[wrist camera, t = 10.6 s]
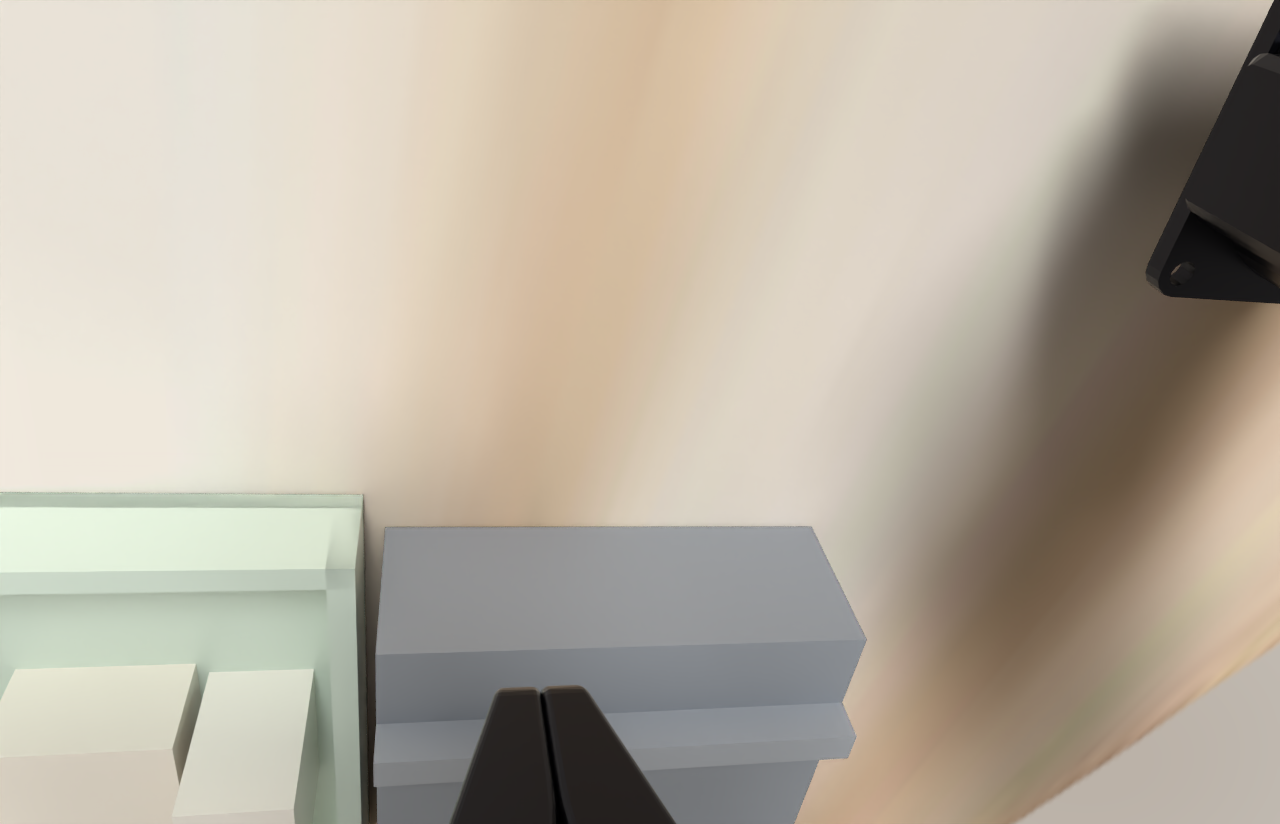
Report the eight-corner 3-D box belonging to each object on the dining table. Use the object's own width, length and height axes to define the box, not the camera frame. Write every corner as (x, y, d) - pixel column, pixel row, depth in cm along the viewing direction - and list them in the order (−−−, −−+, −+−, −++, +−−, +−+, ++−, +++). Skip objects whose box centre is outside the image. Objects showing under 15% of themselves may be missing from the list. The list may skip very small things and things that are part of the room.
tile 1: (-28, 759, 20) (15, 669, 22) (12, 864, 22) (48, 773, 24) (172, 749, 21) (195, 663, 23) (192, 850, 23) (212, 764, 25)
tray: (362, 494, 22) (354, 568, 20) (369, 843, 29) (364, 922, 27) (-188, 490, 19) (-263, 575, 17) (-27, 872, 27) (-66, 962, 25)
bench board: (811, 526, 25) (883, 673, 21) (724, 799, 31) (766, 951, 27) (385, 527, 22) (372, 693, 18) (385, 823, 29) (376, 994, 25)
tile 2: (293, 808, 21) (171, 817, 20) (301, 906, 23) (191, 916, 22) (313, 668, 24) (209, 672, 23) (319, 766, 26) (224, 771, 26)
